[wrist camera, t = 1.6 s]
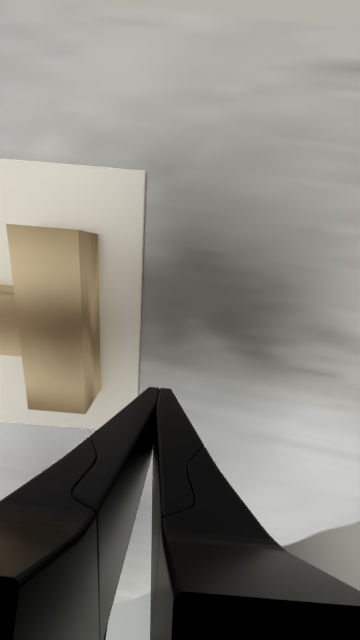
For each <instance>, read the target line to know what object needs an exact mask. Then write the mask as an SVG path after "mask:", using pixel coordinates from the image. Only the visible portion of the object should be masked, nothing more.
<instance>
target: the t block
mask: <svg viewBox="0 0 360 640" xmlns="http://www.w3.org/2000/svg"><path fill="white" fill-rule="evenodd" d="M6 228H7V237H8V245H9V254H10V262H11V270H12V279H13V286H11V285H0V355H8V356H20V357H22V363H23V371H24V380H25V388H26V397H27V405H28V409H30V410H41V411H53V412H65V413H77V414H86V413H87V411H88V409H89V408H90V406H91V405H92V403H93V401H94V400H95V398H96V397H97V395H98V393H99V392H100V390H101V376H100V316H99V256H98V234H95V233H91V232H86V231H81V230H75V229H63V228H51V227H39V226H27V225H15V224H6Z"/></svg>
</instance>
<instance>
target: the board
mask: <svg viewBox="0 0 360 640" xmlns="http://www.w3.org/2000/svg"><path fill="white" fill-rule="evenodd" d="M145 188H146V172H145V170H133V169H121V168H109V167H97V166H85V165H73V164H61V163H49V162H37V161H25V160H13V159H1V158H0V285H11V286H13V279H12V270H11V262H10V254H9V245H8V237H7V228H6V224H15V225H27V226H39V227H51V228H63V229H75V230H81V231H86V232H91V233H95V234H98V256H99V316H100V376H101V390H100V392H99V393H98V395H97V397H96V398H95V400H94V401H93V403H92V405H91V406H90V408H89V409H88V411H87V413H86V414H77V413H65V412H53V411H41V410H30V409H28V405H27V397H26V388H25V380H24V371H23V363H22V357H20V356H8V355H0V422H10V423H22V424H33V425H45V426H57V427H69V428H81V429H93V430H98V429H99V428H100V427H101V426H103V425H104V424H105V423H106V422H107V421H109V420H110V419H111V418H112V417H113V416H115V415H116V414H117V413H118V412H120V411H121V410H122V409H123V408H124V407H126V406H127V405H128V404H129V403H130V402H132V401H133V400H134V399H135V398H136V397H138V389H139V360H140V332H141V303H142V274H143V245H144V217H145Z"/></svg>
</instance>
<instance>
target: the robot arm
mask: <svg viewBox="0 0 360 640" xmlns="http://www.w3.org/2000/svg"><path fill="white" fill-rule="evenodd" d="M152 452H153V481H152V552H151V623H150V624H151V625H150V640H360V591H359V590H357V589H355V588H354V587H352V586H350V585H348V584H346V583H344V582H342V581H341V580H339V579H337V578H335V577H333V576H331V575H330V574H328V573H326V572H324V571H322V570H321V569H319V568H317V567H315V566H313V565H311V564H310V563H307V562H306V561H304V560H302V559H300V558H299V557H297V556H295V555H293V554H291V553H290V552H288V551H287V550H285V549H284V548H283V547H281V546H280V545H279V544H278V543H277V542H276V541H275V540H274V539H273V538H272V537H271V536H270V535H269V534H268V533H267V532H266V530H265V529H264V528H263V527H262V526H261V524H260V523H259V522H258V520H257V519H256V518H255V516H254V515H253V514H252V513H251V511H250V510H249V509H248V507H247V506H246V505H245V503H244V502H243V501H242V500H241V498H240V497H239V496H238V494H237V493H236V492H235V490H234V489H233V488H232V487H231V485H230V484H229V483H228V481H227V480H226V478H225V477H224V476H223V474H222V473H221V472H220V470H219V469H218V467H217V466H216V464H215V462H214V461H213V459H212V458H211V456H210V454H209V453H208V451H207V449H206V448H205V447H204V444H203V443H202V441H201V439H200V438H199V436H198V434H197V433H196V431H195V429H194V427H193V426H192V424H191V422H190V421H189V419H188V417H187V416H186V414H185V412H184V410H183V409H182V407H181V405H180V404H179V402H178V400H177V399H176V397H175V395H174V394H173V392H172V390H171V389H166V388H161V389H159V388H154V387H149V388H147V389H146V390H145V391H144V392H142V393H141V394H140V395H139V396H138V397H136V398H135V399H134V400H133V401H132V402H130V403H129V404H128V405H127V406H126V407H124V408H123V409H122V410H121V411H120V412H118V413H117V414H116V415H115V416H113V417H112V418H111V419H110V420H109V421H107V422H106V423H105V424H104V425H103V426H101V427H100V428H99V429H98V430H97V431H95V432H94V433H93V434H92V435H91V436H90V438H89V437H88V438H87V439H86V440H84V441H83V442H82V443H81V444H80V445H78V446H77V447H76V448H74V449H73V450H72V451H71V452H69V453H68V454H67V455H66V456H64V457H63V458H61V459H60V460H59V461H57V462H56V463H54V464H53V465H52V466H50V467H49V468H47V469H46V470H45V471H43V472H42V473H40V474H39V475H37V476H36V477H34V478H33V479H31V480H30V481H29V482H27V483H26V484H24V485H23V486H21V487H20V488H18V489H17V490H15V491H14V492H13V493H11V494H10V495H8V496H7V497H5V498H4V499H2V500H1V501H0V640H105V639H106V631H107V625H108V620H109V616H110V612H111V608H112V605H113V601H114V597H115V593H116V590H117V586H118V582H119V578H120V574H121V571H122V567H123V563H124V559H125V555H126V552H127V548H128V544H129V540H130V536H131V533H132V529H133V525H134V521H135V517H136V514H137V510H138V506H139V502H140V498H141V495H142V491H143V487H144V483H145V479H146V476H147V472H148V468H149V464H150V460H151V456H152Z"/></svg>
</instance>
